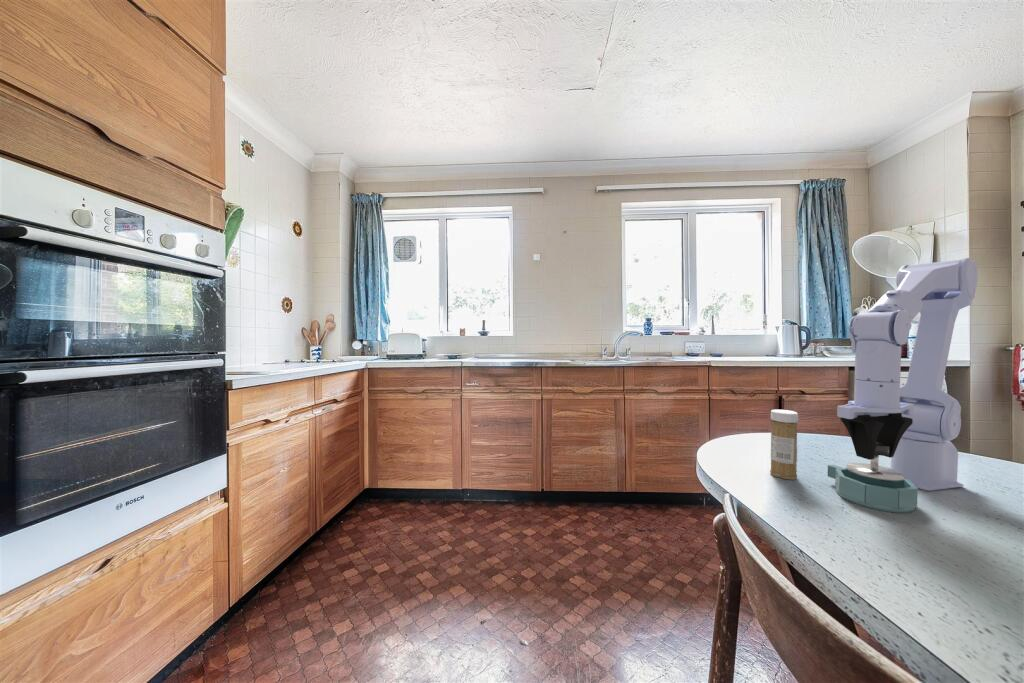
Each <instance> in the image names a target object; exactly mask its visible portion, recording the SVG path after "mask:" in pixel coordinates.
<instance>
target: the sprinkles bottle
mask: <svg viewBox="0 0 1024 683" xmlns="http://www.w3.org/2000/svg"><path fill="white" fill-rule="evenodd" d="M770 419H771V420H770V421H771V428H770V429H771V430H770V431H771V433H770V470H769V471H770V475H772V476H774V477H777V478H778V479H783V480H789V481H790V480H796V479H797V478H798V475H797V470H798V469H797V463H798V446H797V445H798V422H799V413H798V412H797V411H794V410H787V409H771V411H770Z"/></svg>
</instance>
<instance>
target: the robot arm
mask: <svg viewBox="0 0 1024 683" xmlns="http://www.w3.org/2000/svg"><path fill="white" fill-rule="evenodd" d="M895 278H896V280H895V282H896V289H894V290H893V289H891V290H887V291H886V293H884V294H883V295H882V296H881V297H880V298H879V299H878V300H877V301H876V302H875V303H874V304H873V305H872V306H871V307H870V308H869V310H868V311H866V312H859V313H858V314H857V315H854V316H852V318H851V319H850V321H849V327H848V328H847V329H848V337H849V340H850V342H851V352H852V354H855V355H854V356H855V357H854V358H855V359H854V390H853V391H854V392H853V393H854V395H853V400H848V401H847V403H846V404H844V405H837V411H836V412H837V413H836V415H837V416H836V417H838V418H840V420H841V422H842V423H843V425H844V426H845V428H846V430H847V432H848V434H849V436H850V439H851V442H852V444H853V445H852V446H853V449H854V452H855V455H856V457H859V458H862V459H866V460H870V461H871V459H873V457H874V453H875V447H876V442H880V443H884V444H887V445H889V455H888V456H885V457H886V458H890V469H893V470H896V471H898V472H900V473H902V474H903V475H904V479H908V480H910V481H911V482H912V483H913V484H914V485H915V486H916V487H917V488H918V489H921V490H924V491H928V492H930V491H936V490H946V489H954V488H960V487H961V488H962V487H964V485H965V484H964V483H962V482H958V468H959V466H958V465H959V462H958V461H959V452H958V448H956V446H955V445H954V443H953V442H951V441H953V440H954V439H956V438H957V437H958V436H959V434H960V431H961V427H962V418H961V416H962V415H961V414H962V413H961V411H962V406H961V404H960V402H959V401H958V399H956V398H954V397H953V396H951V395H950V394H949V393H947V392H945V391H944V390H942V389H943V385H944V379H945V376H946V375H945V374H946V368H947V364H948V359H949V355H950V354H949V353H950V349H951V344H952V337H953V333H954V328H955V323H956V320H957V318H958V317H957V316H958V314H959V312H960V310H962V309H964V308H967V307H968V306H971V305H972V304H973V301H974V300H973V299H975V295H976V289H977V284H978V279H979V276H978V265H977V264H976V261H974V260H973V259H972V258H970V257H964V258H961V259H954V260H944V261H937V262H927V263H918V264H904V265H902V266H901V267H900V268H899V269H898V271H897V273H896V277H895ZM918 314H920V317H919V321H918V325H917V331H916V335H915V341H914V344H913V350H912V353H911V354H912V355H911V358H910V359H911V360H910V362H909V364H910V365H909V369H908V374H907V378H906V383H905V384H904V385H902V386H901V370H902V369H901V367H902V366H901V365H902V360H901V359H902V346H903V345H904V344H906V343H907V341H908V339H909V334H910V331H911V329H912V326H913V325H912V321H914V319H915V317H916V316H917V315H918Z"/></svg>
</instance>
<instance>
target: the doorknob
mask: <svg viewBox="0 0 1024 683" xmlns="http://www.w3.org/2000/svg"><path fill="white" fill-rule="evenodd" d="M888 455H889V445H887V444H884V443H880V442H876V447H875V453H874V457H873V459H871V460H870V463H865V462H850V463H847V464H846V468H847V470H848V471H850V472H852V473H854V474H856V475H859V476H862V477H866V478H870V479H875V480H881V481H889V482H900V481H903V480H904V475H903V474H902V473H900V472H898V471H896V470H893V469H891V467H886V466H882V465H879V457H880V456H881V457H882V456H884V457H886V456H888Z"/></svg>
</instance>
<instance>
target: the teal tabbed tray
mask: <svg viewBox="0 0 1024 683" xmlns="http://www.w3.org/2000/svg"><path fill="white" fill-rule="evenodd" d="M827 477H828V478H832V479H834V481H835V482H834V485H835V492H836V494H837V495H838V496H839V497H841V498H842V499H844V500H846V501H848V502H850V503H854V504H856V505H859V506H862V507H865V508H869V509H873V510H876V511H881V512H882V511H883V512H888V513H895V514H896V513H898V514H907V513H908V514H909V513H913V512H914V511H915V510H916V507H918V492H919V490H918V489H919V488H917V487H916V486H915V485H914V484H913V483H912V482H911V481H910V480H908V479H904V480H903V481H900V482H889V481H881V480H875V479H870V478H866V477H862V476H859V475H856V474H854V473H852V472H850V471H848V470H847V467H842V466H839V465H836V464H828V465H827Z"/></svg>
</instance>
